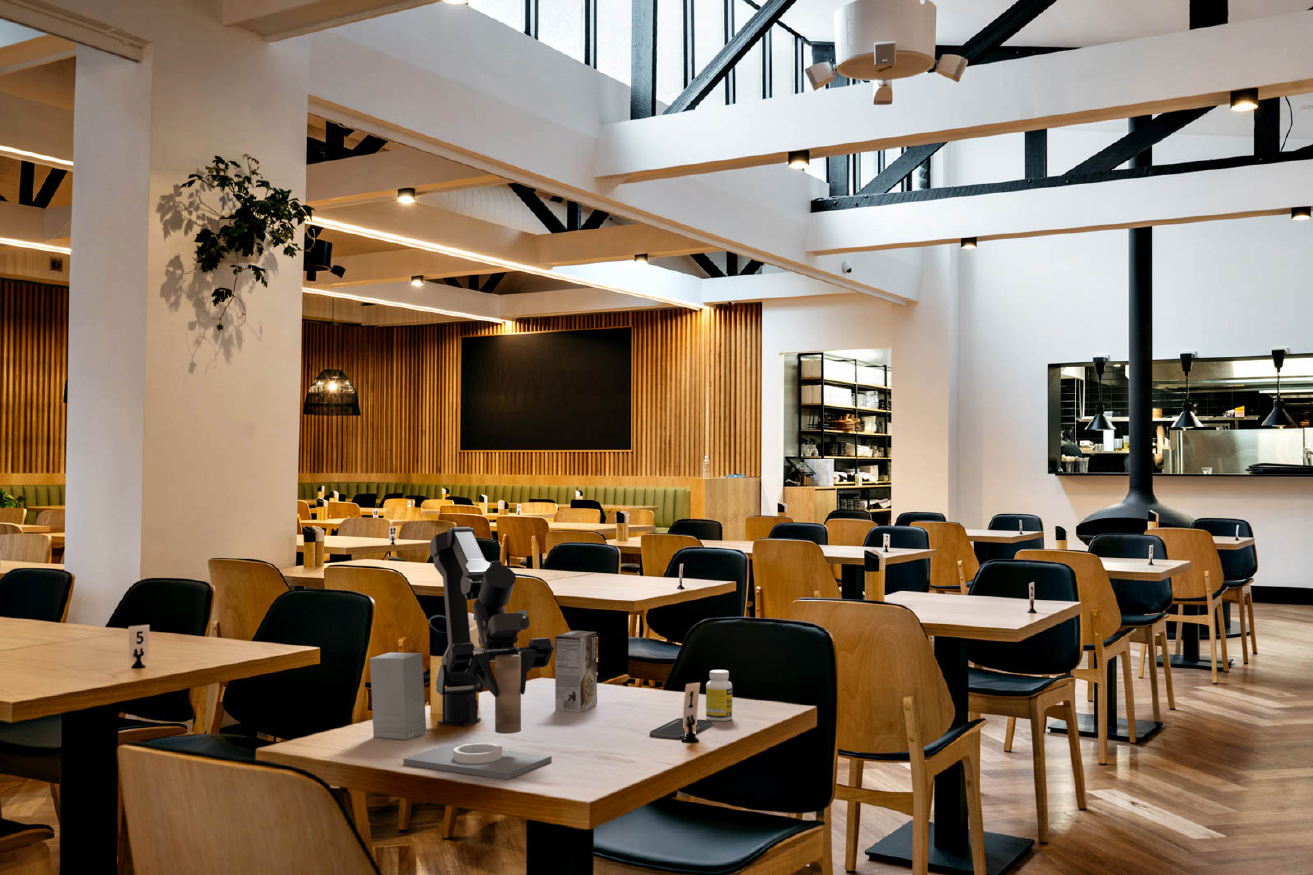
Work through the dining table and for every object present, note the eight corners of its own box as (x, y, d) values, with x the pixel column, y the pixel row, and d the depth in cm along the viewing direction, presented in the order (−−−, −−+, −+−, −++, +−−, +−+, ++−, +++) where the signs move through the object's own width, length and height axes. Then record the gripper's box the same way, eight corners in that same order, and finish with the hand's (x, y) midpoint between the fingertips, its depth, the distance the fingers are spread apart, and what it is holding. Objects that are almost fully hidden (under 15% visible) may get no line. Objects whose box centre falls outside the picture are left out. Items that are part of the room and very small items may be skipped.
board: (403, 764, 187) (403, 749, 187) (451, 748, 199) (451, 734, 199) (507, 779, 177) (507, 764, 177) (551, 761, 188) (551, 747, 188)
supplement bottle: (730, 722, 220) (730, 673, 220) (704, 721, 221) (703, 672, 221) (734, 716, 225) (733, 669, 226) (708, 715, 226) (707, 668, 227)
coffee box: (571, 702, 241) (571, 630, 242) (597, 704, 239) (597, 631, 240) (553, 710, 233) (553, 635, 234) (581, 712, 231) (581, 636, 232)
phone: (647, 732, 208) (679, 717, 221) (647, 738, 207) (679, 723, 221) (685, 736, 204) (714, 720, 218) (685, 742, 204) (715, 726, 218)
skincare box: (427, 734, 211) (427, 652, 212) (403, 742, 204) (404, 657, 205) (392, 730, 214) (392, 650, 215) (368, 738, 208) (368, 655, 209)
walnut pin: (489, 731, 190) (489, 656, 191) (509, 726, 194) (508, 653, 194) (507, 734, 187) (507, 659, 188) (526, 730, 191) (526, 656, 191)
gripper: (450, 598, 191) (466, 670, 181) (550, 593, 199) (571, 662, 189) (439, 637, 198) (454, 709, 188) (536, 631, 206) (556, 700, 195)
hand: (510, 694), depth 190 cm, fingers closed on walnut pin, 4 cm apart
